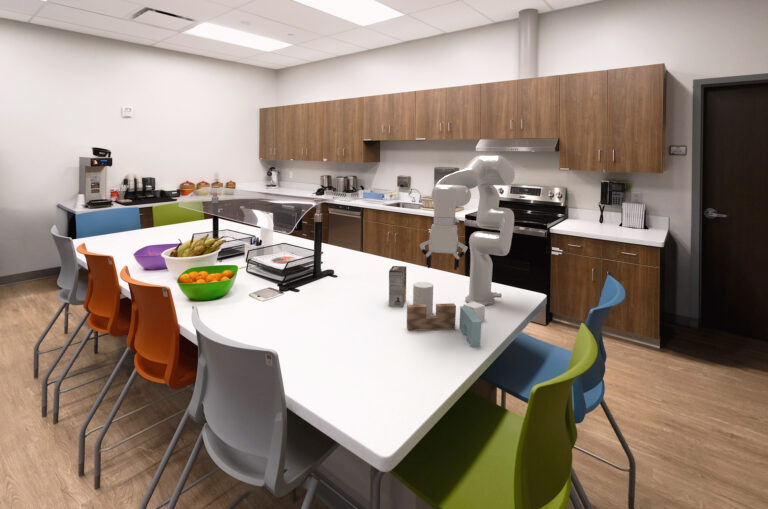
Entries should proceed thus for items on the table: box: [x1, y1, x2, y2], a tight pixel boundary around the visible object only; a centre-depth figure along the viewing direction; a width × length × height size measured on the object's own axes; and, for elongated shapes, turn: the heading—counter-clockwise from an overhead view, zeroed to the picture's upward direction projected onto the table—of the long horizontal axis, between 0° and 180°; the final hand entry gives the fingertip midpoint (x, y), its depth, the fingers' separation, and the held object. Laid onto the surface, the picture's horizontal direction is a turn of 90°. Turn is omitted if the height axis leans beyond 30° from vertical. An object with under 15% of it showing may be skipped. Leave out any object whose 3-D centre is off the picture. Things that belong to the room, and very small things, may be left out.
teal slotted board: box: [458, 305, 482, 348], centre depth 158 cm, size 3×16×9 cm, turn 5°
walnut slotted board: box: [406, 302, 457, 331], centre depth 167 cm, size 18×3×9 cm, turn 95°
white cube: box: [462, 302, 486, 322], centre depth 176 cm, size 6×6×6 cm
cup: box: [412, 281, 434, 316], centre depth 183 cm, size 8×8×12 cm
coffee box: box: [388, 265, 407, 308], centre depth 193 cm, size 9×6×16 cm
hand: (442, 268), depth 161 cm, fingers open, 9 cm apart
